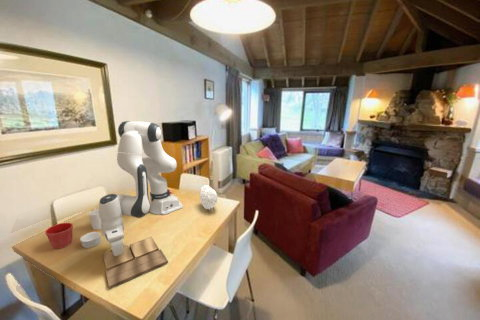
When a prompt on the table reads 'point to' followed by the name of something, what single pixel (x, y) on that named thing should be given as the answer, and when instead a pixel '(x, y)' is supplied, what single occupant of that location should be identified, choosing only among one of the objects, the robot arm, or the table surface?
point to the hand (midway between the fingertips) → (116, 252)
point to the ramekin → (90, 239)
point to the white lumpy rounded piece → (208, 197)
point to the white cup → (95, 219)
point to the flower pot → (60, 235)
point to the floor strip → (135, 268)
